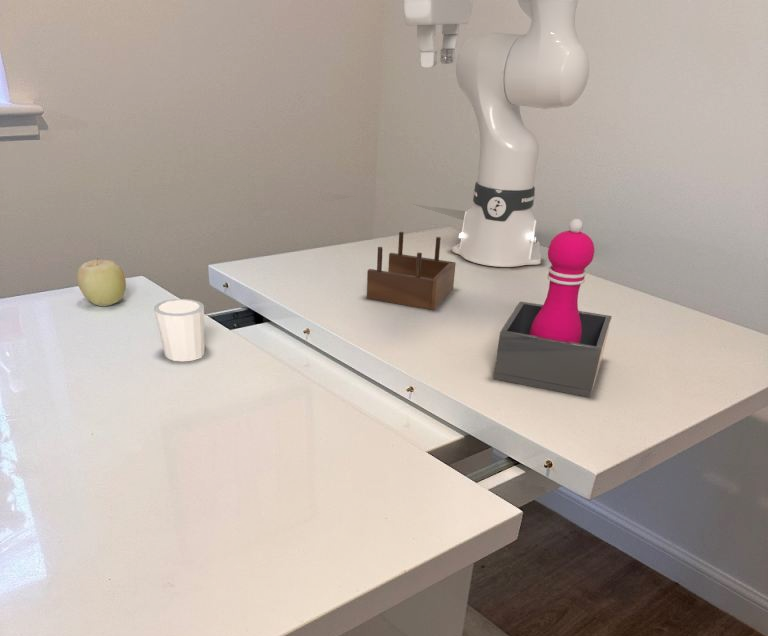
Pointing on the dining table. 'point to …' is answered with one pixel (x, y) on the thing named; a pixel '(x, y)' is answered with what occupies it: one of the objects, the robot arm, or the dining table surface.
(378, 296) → the rack
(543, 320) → the pepper mill
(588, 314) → the gray open box
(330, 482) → the dining table surface
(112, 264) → the fruit
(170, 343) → the white cup
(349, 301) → the dining table surface
